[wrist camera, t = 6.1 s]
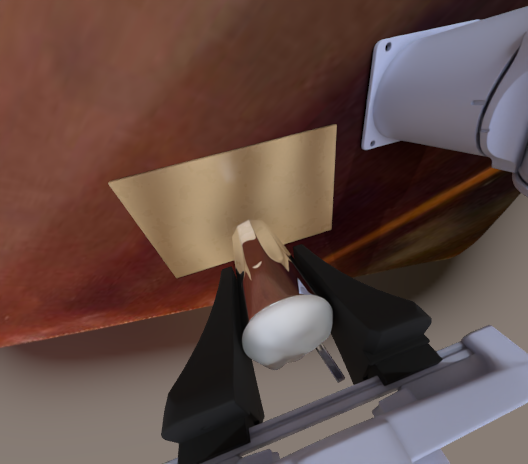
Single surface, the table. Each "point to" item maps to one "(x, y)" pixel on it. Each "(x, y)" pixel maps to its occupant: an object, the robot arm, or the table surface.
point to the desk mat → (234, 198)
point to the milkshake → (278, 301)
